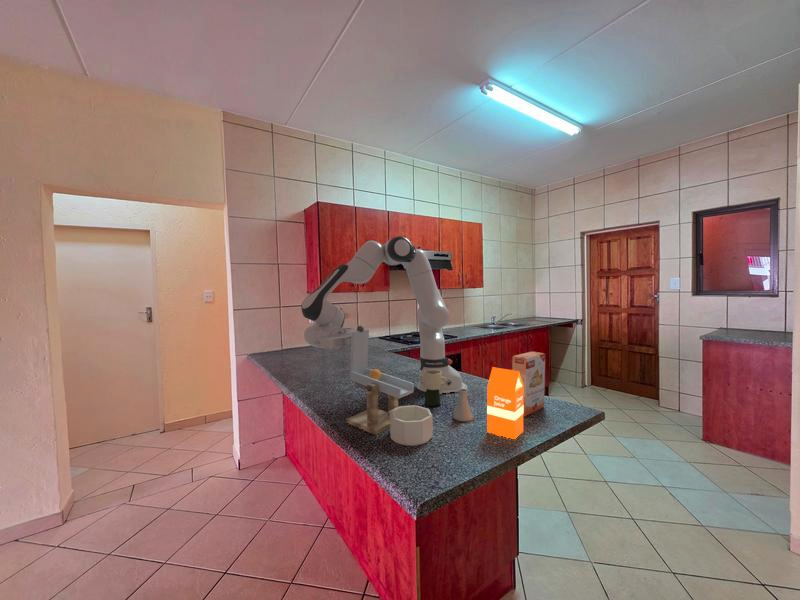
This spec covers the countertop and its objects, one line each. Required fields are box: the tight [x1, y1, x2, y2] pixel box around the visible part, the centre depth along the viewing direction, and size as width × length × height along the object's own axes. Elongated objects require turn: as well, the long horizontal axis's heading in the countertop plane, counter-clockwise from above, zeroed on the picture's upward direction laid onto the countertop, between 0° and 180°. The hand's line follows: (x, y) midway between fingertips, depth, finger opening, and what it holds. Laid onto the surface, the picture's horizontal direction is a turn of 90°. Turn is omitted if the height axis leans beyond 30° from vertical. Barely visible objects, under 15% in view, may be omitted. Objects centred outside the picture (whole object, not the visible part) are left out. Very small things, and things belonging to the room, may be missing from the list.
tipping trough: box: [349, 325, 415, 399], centre depth 105 cm, size 23×7×21 cm, turn 50°
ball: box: [369, 368, 382, 380], centre depth 106 cm, size 4×4×4 cm
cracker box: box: [511, 351, 546, 417], centre depth 116 cm, size 14×6×21 cm, turn 129°
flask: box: [452, 388, 475, 422], centre depth 110 cm, size 7×7×10 cm
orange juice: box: [486, 366, 524, 440], centre depth 99 cm, size 8×9×20 cm
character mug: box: [418, 369, 446, 407], centre depth 123 cm, size 11×7×13 cm, turn 70°
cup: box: [389, 404, 434, 447], centre depth 97 cm, size 13×13×7 cm
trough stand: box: [345, 376, 399, 436], centre depth 107 cm, size 14×14×15 cm
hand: (358, 341), depth 111 cm, fingers closed, pressing on tipping trough
